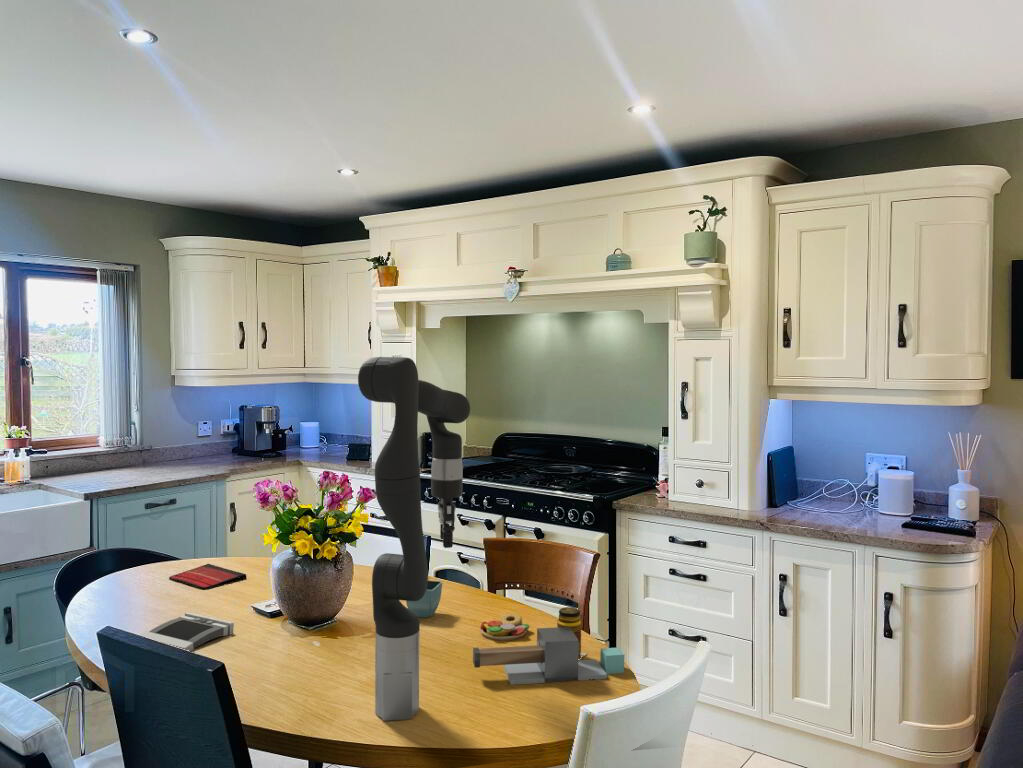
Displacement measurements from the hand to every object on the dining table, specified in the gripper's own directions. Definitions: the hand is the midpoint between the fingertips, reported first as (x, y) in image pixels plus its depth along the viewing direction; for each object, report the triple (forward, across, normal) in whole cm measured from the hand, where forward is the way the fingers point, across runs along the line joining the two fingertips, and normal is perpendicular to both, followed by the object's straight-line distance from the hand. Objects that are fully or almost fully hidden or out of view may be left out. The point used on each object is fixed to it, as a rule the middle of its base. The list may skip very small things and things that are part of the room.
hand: (446, 543), depth 185 cm
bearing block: (+30, -8, -26) cm, 41 cm away
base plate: (+30, -8, -26) cm, 40 cm away
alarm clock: (+31, +28, +66) cm, 78 cm away
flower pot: (+30, +37, +3) cm, 48 cm away
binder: (+31, +82, +73) cm, 114 cm away
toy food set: (+31, +20, -18) cm, 41 cm away
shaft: (+27, -8, -18) cm, 33 cm away
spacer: (+26, -8, -40) cm, 48 cm away
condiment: (+30, +2, -31) cm, 43 cm away
